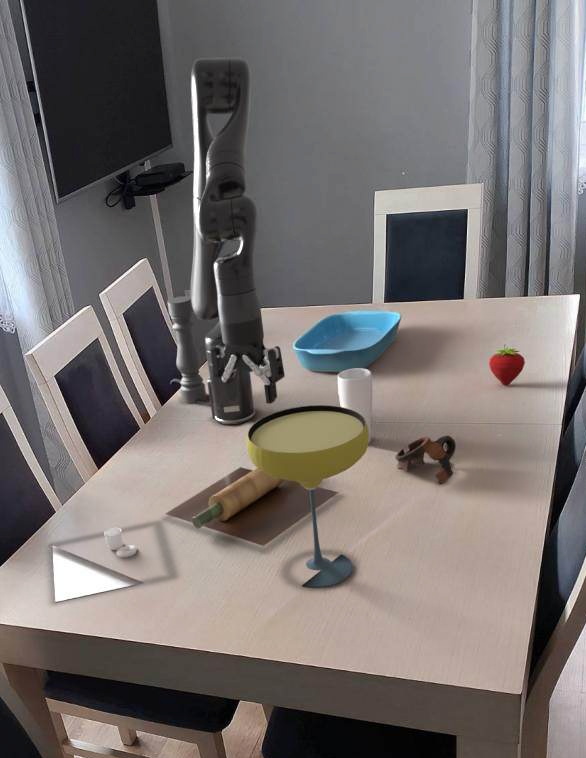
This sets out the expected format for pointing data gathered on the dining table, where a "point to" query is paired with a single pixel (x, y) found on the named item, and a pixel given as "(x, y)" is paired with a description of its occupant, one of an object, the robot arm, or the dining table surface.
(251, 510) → the pastry board
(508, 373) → the strawberry
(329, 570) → the cocktail glass
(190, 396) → the candle holder
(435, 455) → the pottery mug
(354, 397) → the drinking glass
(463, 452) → the dining table surface
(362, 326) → the casserole dish
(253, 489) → the rolling pin
